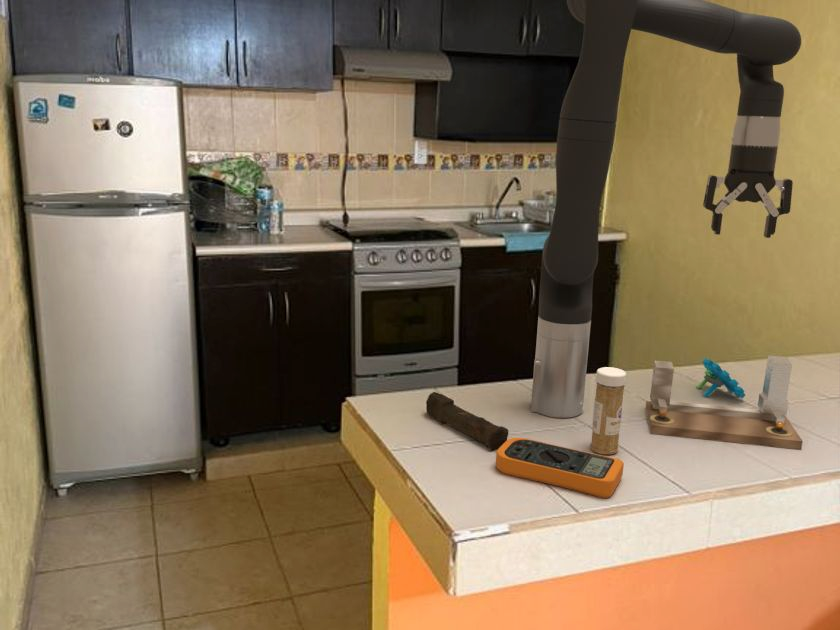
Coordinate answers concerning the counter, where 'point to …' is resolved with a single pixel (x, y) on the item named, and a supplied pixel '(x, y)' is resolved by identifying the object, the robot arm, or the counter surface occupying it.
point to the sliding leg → (776, 389)
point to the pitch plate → (711, 418)
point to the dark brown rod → (465, 421)
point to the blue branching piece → (719, 379)
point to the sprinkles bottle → (607, 410)
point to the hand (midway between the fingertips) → (741, 235)
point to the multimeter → (560, 466)
